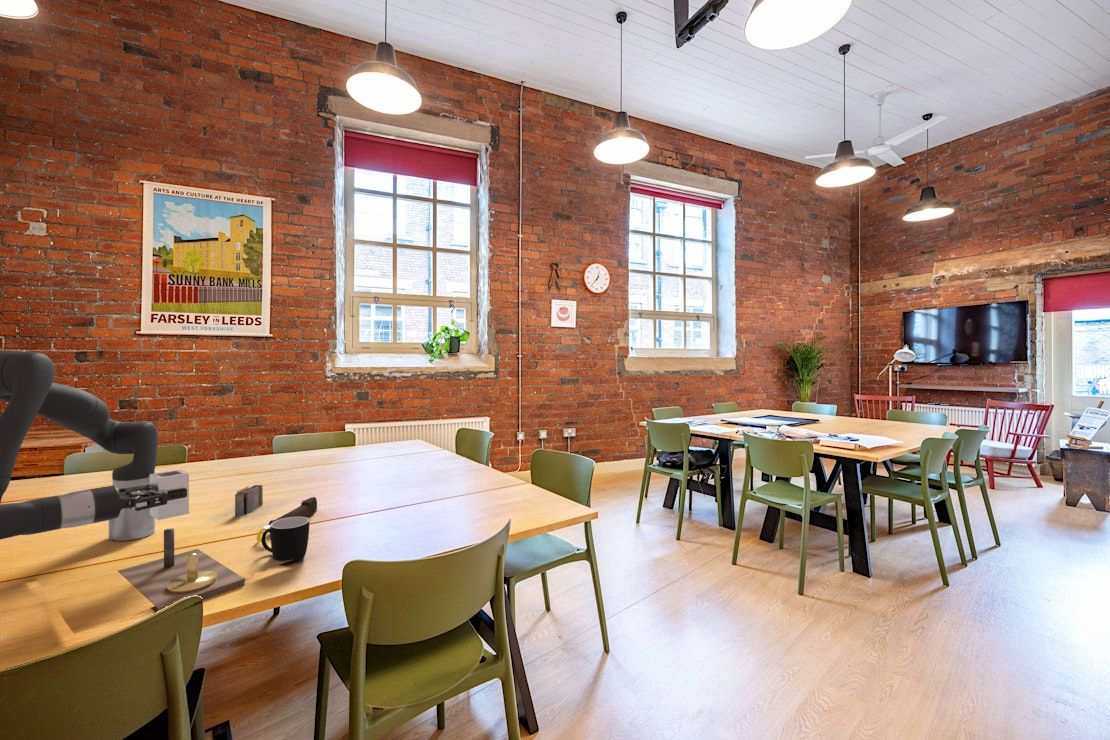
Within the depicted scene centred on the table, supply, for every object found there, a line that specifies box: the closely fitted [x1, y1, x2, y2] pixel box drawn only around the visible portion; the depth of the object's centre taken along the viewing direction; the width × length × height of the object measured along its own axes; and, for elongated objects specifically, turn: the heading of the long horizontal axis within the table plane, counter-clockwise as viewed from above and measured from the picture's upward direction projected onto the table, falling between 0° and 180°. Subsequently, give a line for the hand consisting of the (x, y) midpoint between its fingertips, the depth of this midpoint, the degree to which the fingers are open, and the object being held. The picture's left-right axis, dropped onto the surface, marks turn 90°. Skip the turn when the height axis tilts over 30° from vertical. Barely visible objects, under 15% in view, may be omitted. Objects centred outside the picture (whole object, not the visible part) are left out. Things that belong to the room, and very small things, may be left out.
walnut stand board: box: [117, 527, 246, 613], centre depth 111 cm, size 28×16×10 cm, turn 55°
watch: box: [256, 525, 271, 548], centre depth 131 cm, size 6×3×6 cm, turn 85°
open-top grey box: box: [150, 469, 190, 521], centre depth 115 cm, size 6×6×10 cm
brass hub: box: [167, 553, 217, 594], centre depth 107 cm, size 9×9×7 cm
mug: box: [261, 517, 310, 566], centre depth 123 cm, size 12×9×10 cm
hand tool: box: [268, 496, 318, 534], centre depth 151 cm, size 23×5×6 cm, turn 175°
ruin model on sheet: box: [234, 484, 264, 517], centre depth 161 cm, size 11×3×10 cm, turn 3°
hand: (181, 489), depth 117 cm, fingers closed on open-top grey box, 6 cm apart
